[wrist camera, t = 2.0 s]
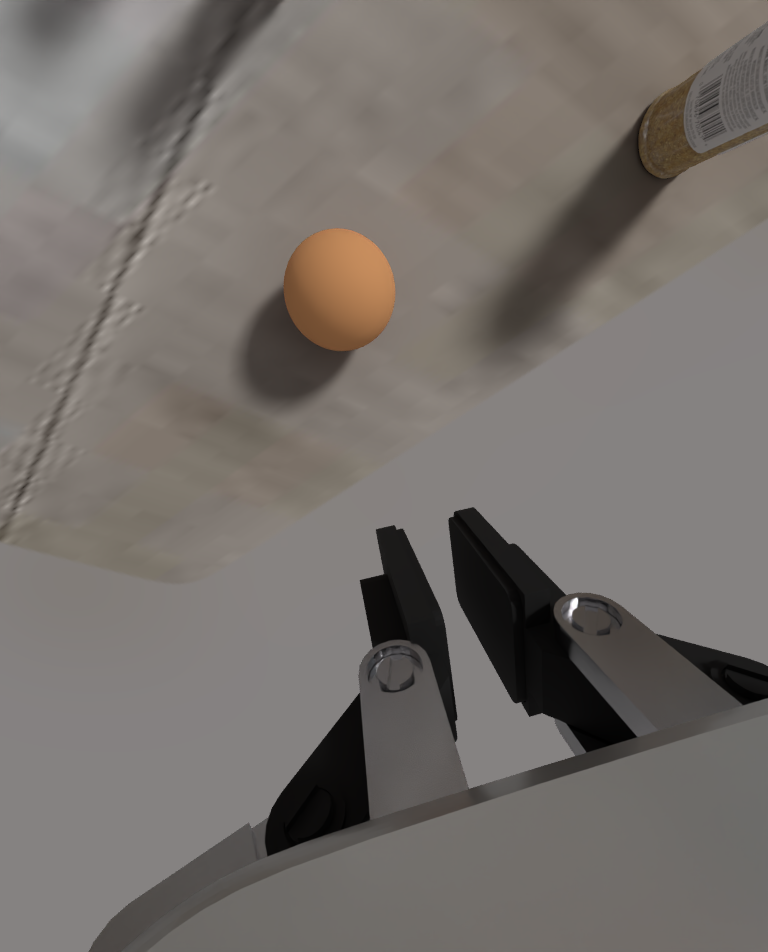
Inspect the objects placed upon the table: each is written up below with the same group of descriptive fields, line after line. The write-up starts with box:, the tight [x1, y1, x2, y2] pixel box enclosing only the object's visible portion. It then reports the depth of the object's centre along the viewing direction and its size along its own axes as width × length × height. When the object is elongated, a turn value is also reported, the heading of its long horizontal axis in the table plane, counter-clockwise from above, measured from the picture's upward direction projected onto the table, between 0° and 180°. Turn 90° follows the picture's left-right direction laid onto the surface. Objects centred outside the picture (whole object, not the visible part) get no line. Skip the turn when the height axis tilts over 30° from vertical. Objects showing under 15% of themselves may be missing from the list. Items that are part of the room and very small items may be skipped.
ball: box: [284, 228, 395, 351], centre depth 21 cm, size 6×6×6 cm
